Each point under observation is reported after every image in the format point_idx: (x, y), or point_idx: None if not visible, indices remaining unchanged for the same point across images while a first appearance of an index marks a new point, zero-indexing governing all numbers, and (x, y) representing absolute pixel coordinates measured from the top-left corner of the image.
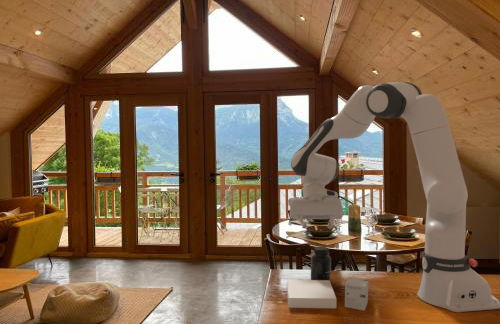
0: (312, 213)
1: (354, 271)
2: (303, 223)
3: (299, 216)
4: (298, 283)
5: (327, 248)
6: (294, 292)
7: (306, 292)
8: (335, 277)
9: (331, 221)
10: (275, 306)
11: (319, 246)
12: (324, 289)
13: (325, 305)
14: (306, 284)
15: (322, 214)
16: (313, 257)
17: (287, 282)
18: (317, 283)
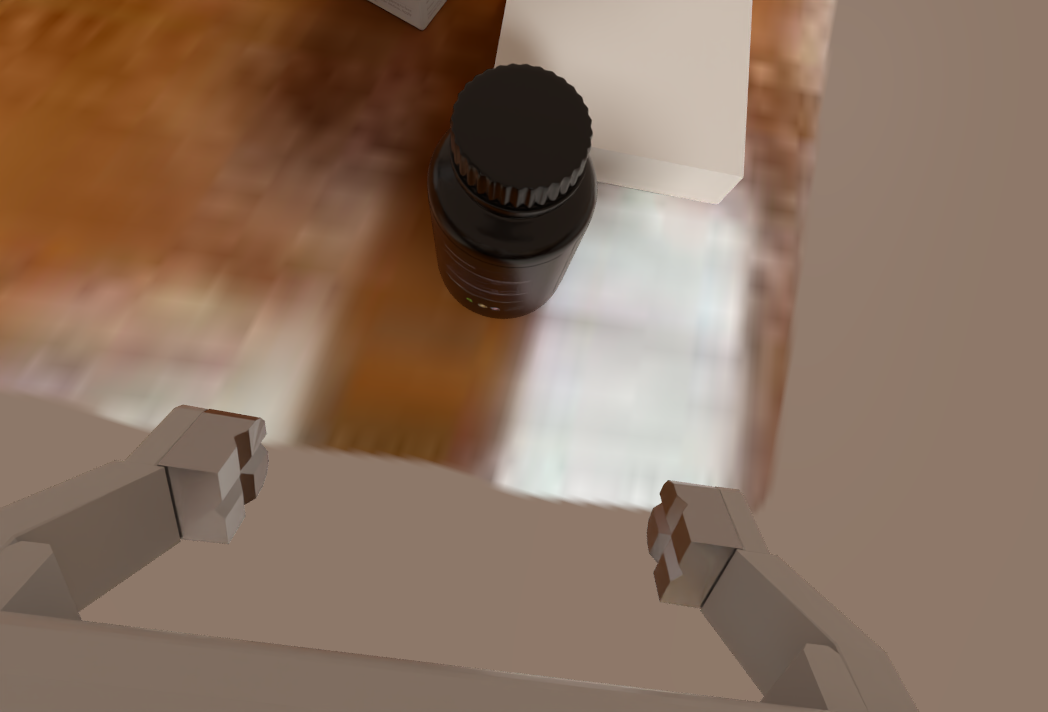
0: (582, 706)
1: None
2: (743, 527)
3: (911, 701)
4: (681, 115)
5: (462, 105)
6: (718, 16)
7: (657, 3)
8: (377, 321)
9: (119, 476)
10: (785, 34)
11: (526, 178)
12: (552, 16)
13: None
14: (638, 93)
15: (249, 641)
16: (588, 160)
17: (742, 139)
18: None
